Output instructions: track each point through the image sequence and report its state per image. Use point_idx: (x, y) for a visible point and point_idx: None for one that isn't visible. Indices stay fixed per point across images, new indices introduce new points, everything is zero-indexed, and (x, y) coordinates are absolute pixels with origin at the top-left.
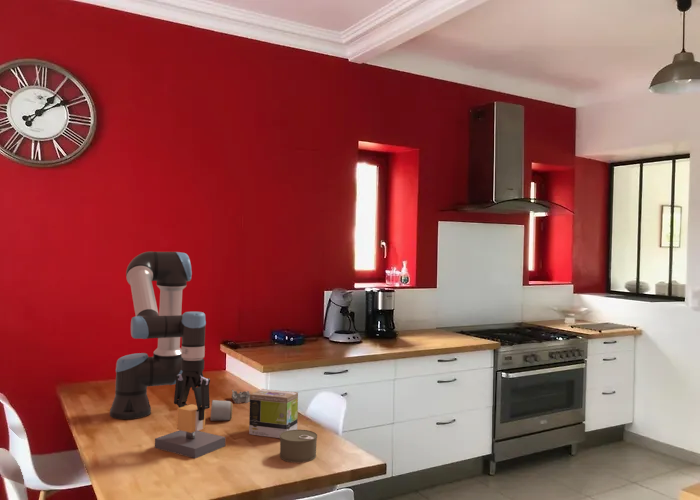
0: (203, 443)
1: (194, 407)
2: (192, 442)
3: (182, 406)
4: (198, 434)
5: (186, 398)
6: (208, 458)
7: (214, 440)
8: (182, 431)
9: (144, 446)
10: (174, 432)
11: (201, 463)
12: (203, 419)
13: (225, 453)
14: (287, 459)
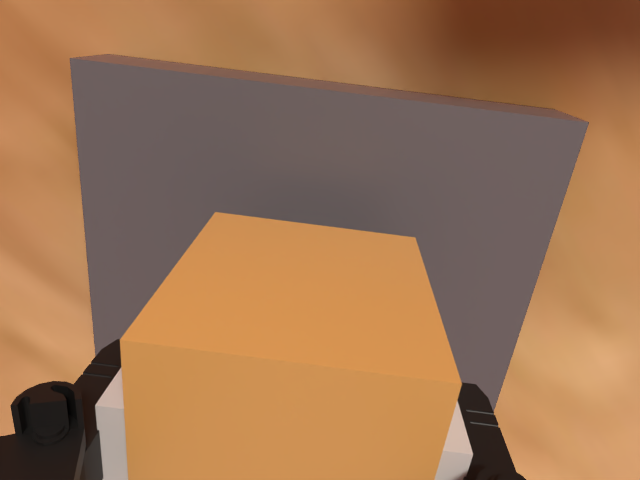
0: (482, 331)
1: (312, 469)
2: None
3: (98, 464)
4: (309, 170)
5: None
6: (551, 356)
7: (532, 243)
8: (127, 166)
9: (54, 347)
10: (94, 218)
11: (549, 426)
12: (476, 391)
13: (625, 243)
14: None
